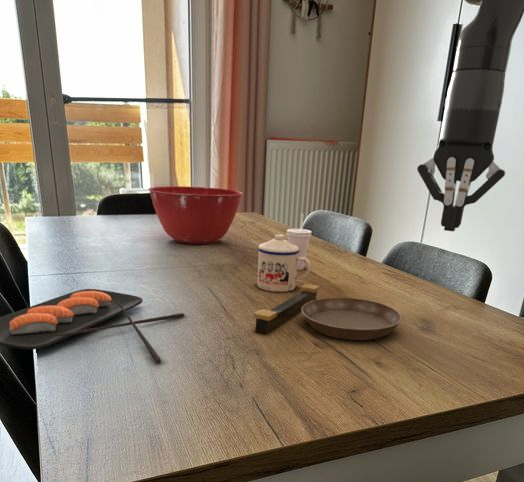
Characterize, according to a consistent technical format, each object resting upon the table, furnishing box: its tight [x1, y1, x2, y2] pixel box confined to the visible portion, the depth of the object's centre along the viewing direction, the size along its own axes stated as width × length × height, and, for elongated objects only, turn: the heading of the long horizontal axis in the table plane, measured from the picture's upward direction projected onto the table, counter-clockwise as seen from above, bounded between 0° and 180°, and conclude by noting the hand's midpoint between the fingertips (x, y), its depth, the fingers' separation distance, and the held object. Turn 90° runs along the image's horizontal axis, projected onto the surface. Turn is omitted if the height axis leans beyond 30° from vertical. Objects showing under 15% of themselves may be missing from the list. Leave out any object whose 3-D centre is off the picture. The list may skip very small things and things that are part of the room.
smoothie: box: [286, 212, 312, 271], centre depth 132 cm, size 6×6×14 cm
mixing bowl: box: [147, 185, 243, 245], centre depth 160 cm, size 28×28×15 cm
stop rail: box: [253, 283, 321, 335], centre depth 97 cm, size 3×24×3 cm, turn 154°
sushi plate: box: [0, 288, 185, 364], centre depth 84 cm, size 29×30×4 cm
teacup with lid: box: [256, 234, 312, 293], centre depth 113 cm, size 12×9×12 cm
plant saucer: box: [301, 297, 402, 341], centre depth 92 cm, size 18×18×3 cm
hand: (449, 230), depth 80 cm, fingers closed
